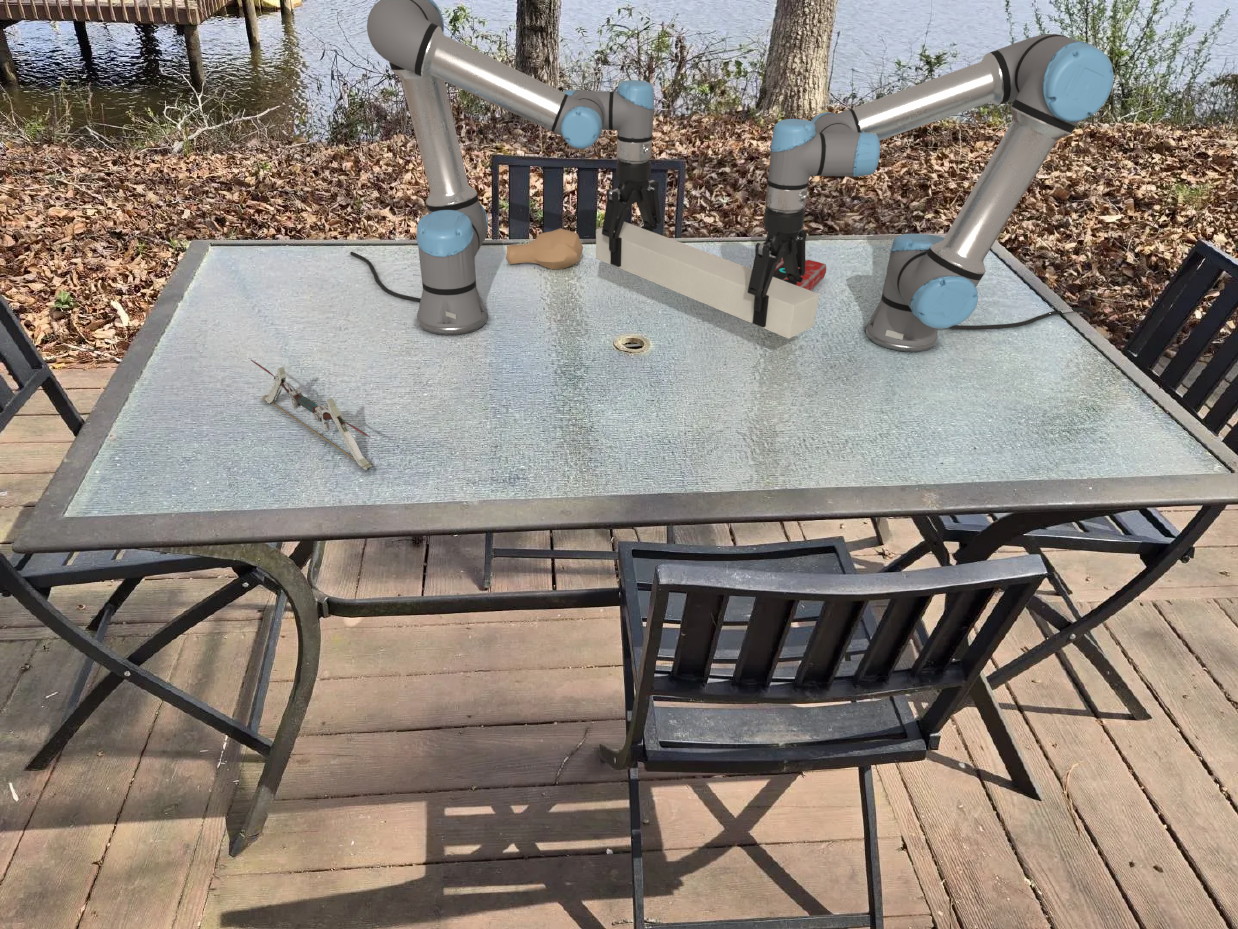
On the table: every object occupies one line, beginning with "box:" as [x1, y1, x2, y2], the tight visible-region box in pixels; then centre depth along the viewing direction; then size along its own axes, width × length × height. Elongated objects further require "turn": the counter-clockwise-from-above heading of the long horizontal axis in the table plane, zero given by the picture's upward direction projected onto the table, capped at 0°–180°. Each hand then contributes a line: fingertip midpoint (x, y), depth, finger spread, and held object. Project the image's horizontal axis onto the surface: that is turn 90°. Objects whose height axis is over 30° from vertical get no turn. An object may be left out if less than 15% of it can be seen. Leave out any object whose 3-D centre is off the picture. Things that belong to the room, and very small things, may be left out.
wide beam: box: [595, 221, 820, 340], centre depth 188 cm, size 55×9×7 cm, turn 45°
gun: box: [773, 256, 827, 291], centre depth 215 cm, size 4×31×19 cm
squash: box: [505, 227, 584, 270], centre depth 225 cm, size 11×20×9 cm, turn 90°
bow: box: [250, 359, 373, 471], centre depth 154 cm, size 39×2×10 cm, turn 47°
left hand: (630, 259), depth 201 cm, fingers closed on wide beam, 9 cm apart
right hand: (773, 317), depth 178 cm, fingers closed on wide beam, 9 cm apart
